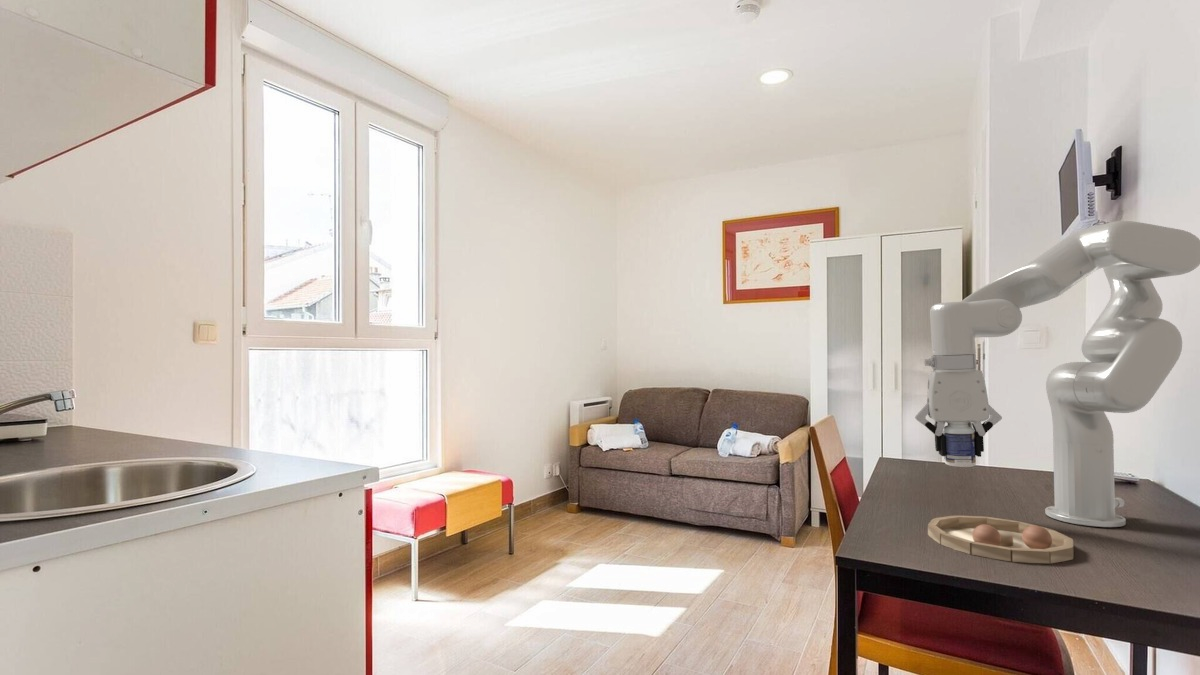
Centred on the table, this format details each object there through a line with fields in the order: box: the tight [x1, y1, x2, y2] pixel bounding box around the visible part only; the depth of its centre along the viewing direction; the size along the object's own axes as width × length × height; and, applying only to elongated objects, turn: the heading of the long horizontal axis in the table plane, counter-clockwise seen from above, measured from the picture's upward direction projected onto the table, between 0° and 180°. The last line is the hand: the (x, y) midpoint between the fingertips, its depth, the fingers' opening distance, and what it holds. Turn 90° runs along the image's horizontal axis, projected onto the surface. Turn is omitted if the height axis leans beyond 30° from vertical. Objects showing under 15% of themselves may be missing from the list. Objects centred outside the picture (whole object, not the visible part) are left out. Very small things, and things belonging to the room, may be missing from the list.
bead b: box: [1022, 524, 1052, 549], centre depth 99 cm, size 4×4×4 cm
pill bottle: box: [942, 422, 977, 468], centre depth 119 cm, size 5×5×10 cm
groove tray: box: [927, 515, 1074, 564], centre depth 103 cm, size 20×20×3 cm
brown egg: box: [972, 524, 1001, 546], centre depth 99 cm, size 4×4×4 cm
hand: (959, 454), depth 119 cm, fingers closed on pill bottle, 5 cm apart
